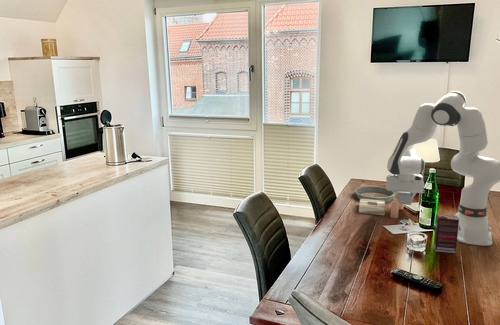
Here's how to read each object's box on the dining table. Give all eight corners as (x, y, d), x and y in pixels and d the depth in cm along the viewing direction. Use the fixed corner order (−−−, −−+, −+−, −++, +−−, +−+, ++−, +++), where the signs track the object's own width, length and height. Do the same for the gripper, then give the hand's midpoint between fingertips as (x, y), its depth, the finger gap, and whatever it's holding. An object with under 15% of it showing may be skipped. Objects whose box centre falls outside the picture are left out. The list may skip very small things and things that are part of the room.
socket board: (384, 215, 219) (385, 208, 218) (358, 212, 223) (359, 206, 222) (384, 207, 232) (384, 200, 231) (359, 205, 236) (360, 198, 235)
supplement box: (453, 248, 177) (457, 215, 174) (455, 253, 173) (459, 219, 169) (432, 246, 179) (436, 214, 176) (434, 251, 175) (438, 218, 171)
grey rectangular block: (410, 205, 218) (411, 196, 217) (398, 204, 220) (399, 195, 219) (408, 198, 228) (409, 190, 227) (397, 198, 230) (397, 189, 229)
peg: (398, 218, 214) (399, 203, 212) (390, 217, 215) (391, 202, 213) (397, 216, 218) (398, 200, 216) (390, 215, 219) (391, 200, 217)
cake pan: (358, 190, 265) (358, 184, 264) (396, 195, 255) (397, 188, 254) (350, 201, 244) (350, 194, 243) (392, 206, 233) (392, 199, 232)
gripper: (386, 175, 220) (385, 199, 223) (426, 178, 215) (423, 202, 218) (386, 173, 226) (384, 195, 229) (424, 175, 221) (422, 198, 224)
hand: (404, 198), depth 223 cm, fingers closed on grey rectangular block, 6 cm apart
